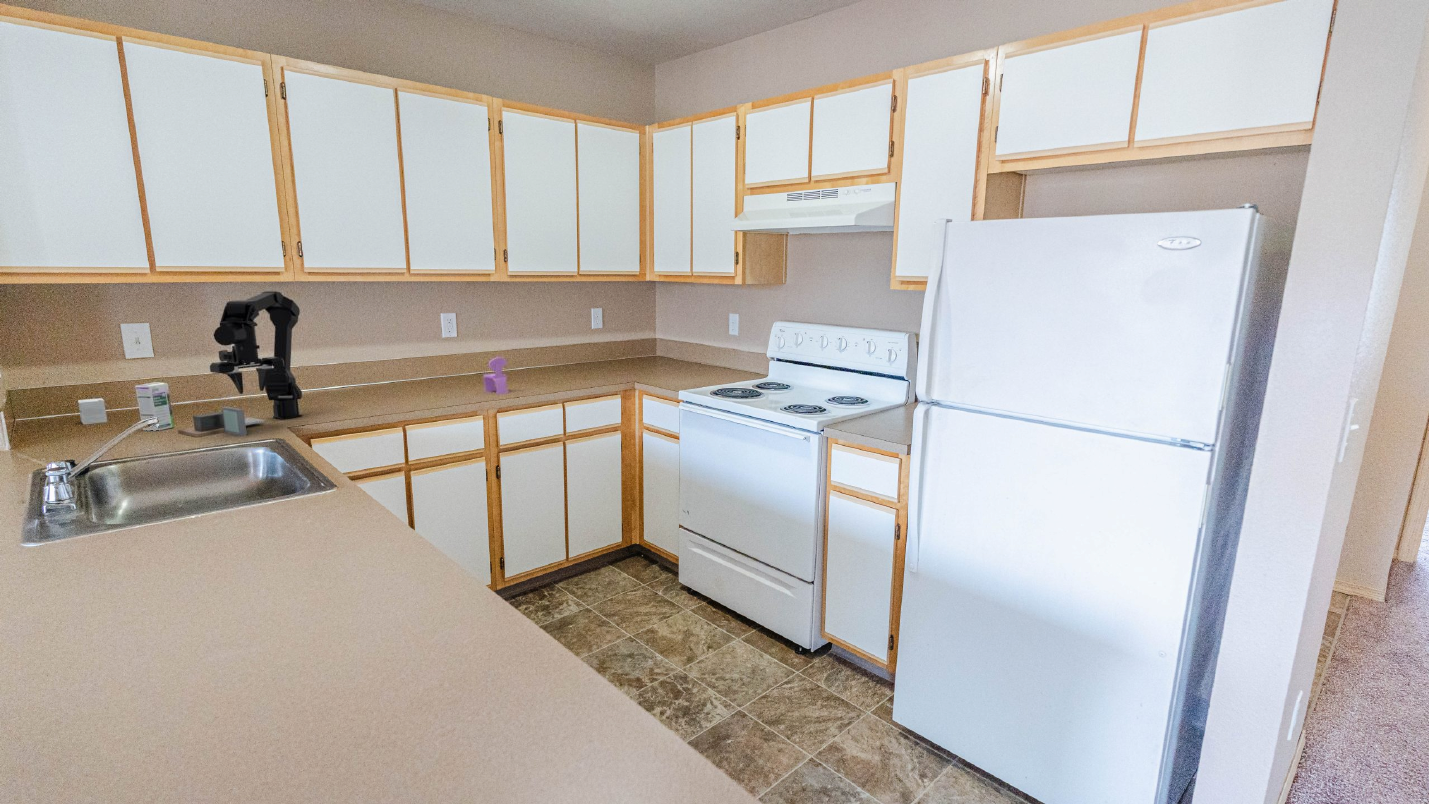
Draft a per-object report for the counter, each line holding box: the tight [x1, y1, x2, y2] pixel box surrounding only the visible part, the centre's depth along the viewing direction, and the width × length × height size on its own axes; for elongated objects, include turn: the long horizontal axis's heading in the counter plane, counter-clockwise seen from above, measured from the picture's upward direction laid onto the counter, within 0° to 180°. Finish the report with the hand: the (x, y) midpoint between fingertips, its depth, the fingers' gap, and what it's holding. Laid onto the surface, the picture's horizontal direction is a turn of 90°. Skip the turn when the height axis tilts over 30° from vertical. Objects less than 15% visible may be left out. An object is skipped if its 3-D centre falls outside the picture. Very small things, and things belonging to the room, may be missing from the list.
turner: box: [192, 410, 265, 432], centre depth 211 cm, size 17×8×4 cm, turn 152°
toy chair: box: [482, 356, 510, 395], centre depth 279 cm, size 8×9×15 cm
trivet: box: [177, 426, 225, 438], centre depth 208 cm, size 11×11×1 cm
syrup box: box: [134, 381, 175, 432], centre depth 210 cm, size 6×6×14 cm
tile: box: [221, 406, 247, 437], centre depth 205 cm, size 2×9×8 cm, turn 62°
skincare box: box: [77, 397, 108, 425], centre depth 220 cm, size 6×6×7 cm
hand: (251, 392), depth 208 cm, fingers open, 6 cm apart
